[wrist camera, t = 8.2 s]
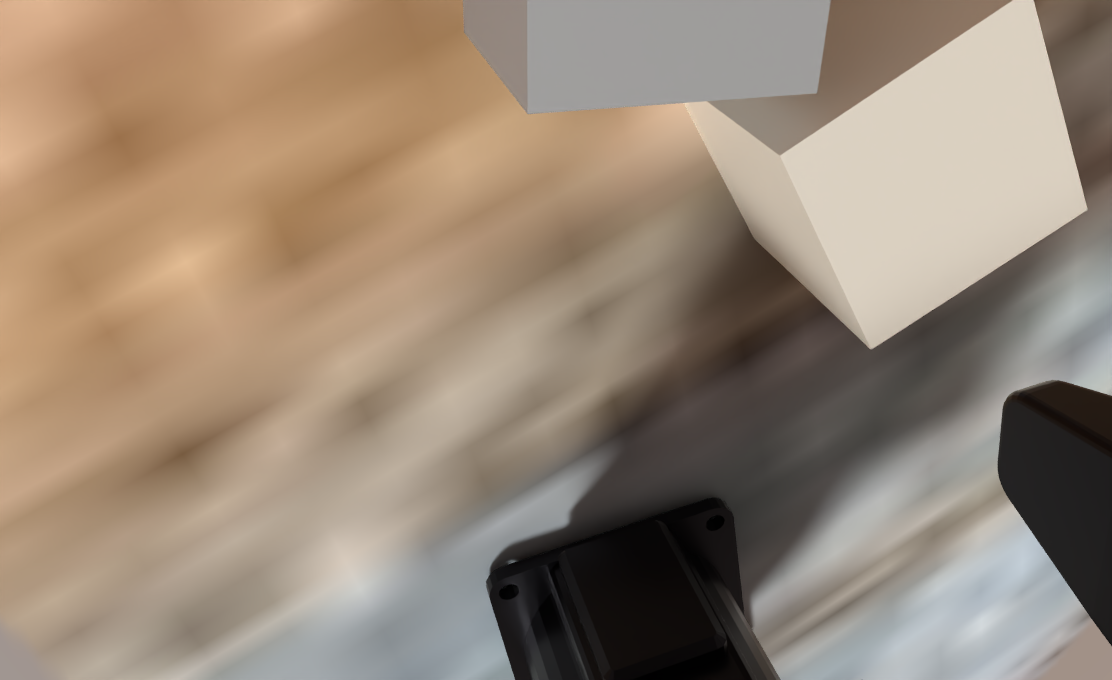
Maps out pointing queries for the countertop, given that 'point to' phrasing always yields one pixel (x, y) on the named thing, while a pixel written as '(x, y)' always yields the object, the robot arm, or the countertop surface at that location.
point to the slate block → (648, 50)
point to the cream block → (903, 157)
